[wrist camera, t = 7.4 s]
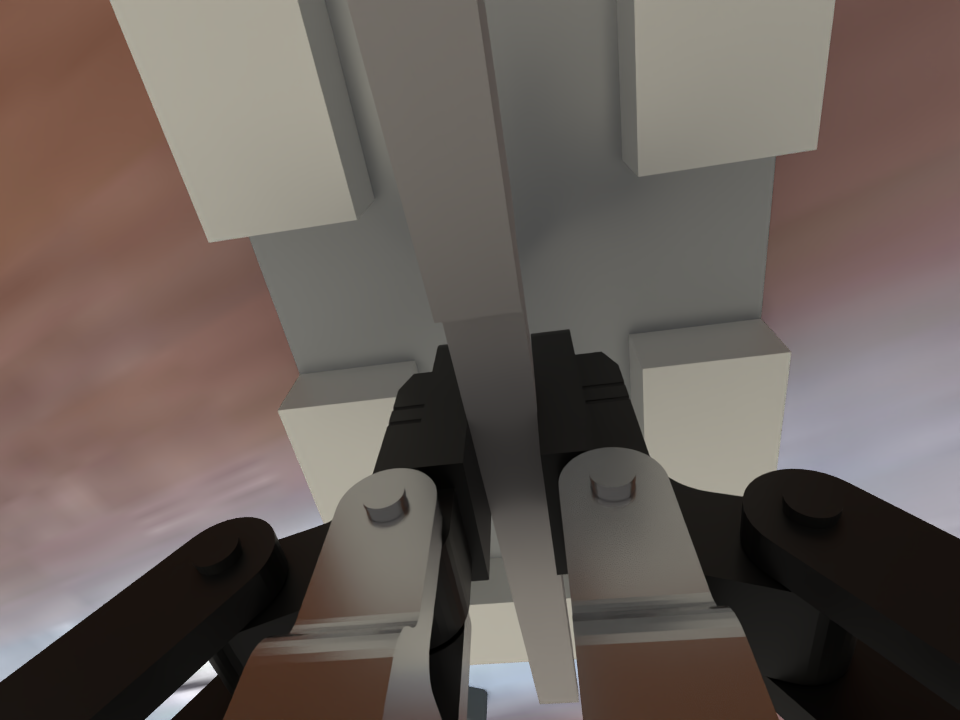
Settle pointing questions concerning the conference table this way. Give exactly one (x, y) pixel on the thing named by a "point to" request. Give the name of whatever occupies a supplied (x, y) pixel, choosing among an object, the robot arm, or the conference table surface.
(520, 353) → the caliper
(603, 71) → the case insert
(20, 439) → the conference table surface
